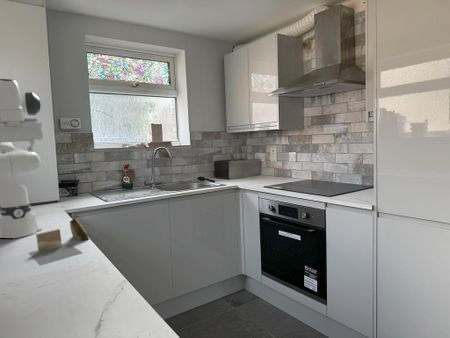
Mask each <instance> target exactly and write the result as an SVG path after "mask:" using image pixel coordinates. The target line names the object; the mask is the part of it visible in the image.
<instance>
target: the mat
mask: <svg viewBox="0 0 450 338" xmlns="http://www.w3.org/2000/svg"><path fill="white" fill-rule="evenodd" d="M82 254H83V252H82V251H81V250H79V249H77V248H76V247H75V246H73V245H71V244H70V243H69V242H65V243H62V247H59V248H55V249H51V250H47V251H43V252H40V253H39V252H38V249H37V250H34V251H33V250H32V251H30V252H28V255H29V256H31V257H32V258H33V260H35V262H36V263H37V264H38V265H39V266H43V265H48V264H51V263H53V262H56V261H60V260H63V259H68V258H70V257H74V256H78V255H82Z"/></svg>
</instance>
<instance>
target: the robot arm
mask: <svg viewBox="0 0 450 338" xmlns="http://www.w3.org/2000/svg"><path fill="white" fill-rule="evenodd" d="M41 108H42V107H41V99H40V98H39V97H38V95H37V94H35V93H34V92H32V91H29V92H21V91H20V87H19V85H18V82H17V81H16V80H14V79H11V78H0V216H1V217H0V238H13V239H19V238H23V237H26V236H30V235H33V234H36V233H37V232H39V231H42V229H43V228H42V227H40V226H39V225H38V221H37V217H36V214H35V213H34V212H33V211H32V205H31V203H30V199H29V194H28V188H27V186H25V185H23V184H22V183H19V182H16V181H12V180H11V178H10V177H14V176H22V175H23V176H24V175H28V174H32V173H36V172H38V171H39V170H40V168H41V166H42V160H41V159H42V158H41V157H40V156H39V154H38V153H37V152H34V151H33V147H34V144H35V141H41V140H43V139H44V134H43V131H42V130H43V129H42V121H41V120H40V119H38V118H25V116H36V115H38V113H39V112H40V111H41ZM28 141H29V144H30V145H29V146H28V147H27V150H24V149H21V148H17V147H15V146H14V144H13V143H12V142H14V143H15V142H28Z"/></svg>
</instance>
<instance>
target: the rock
mask: <svg viewBox="0 0 450 338" xmlns="http://www.w3.org/2000/svg"><path fill="white" fill-rule="evenodd" d="M69 226H70V227H69V228H70V231H71V234H72V237H73V238H75V239H76V240H77V242H82V241H88V240H90V238H89V236H88V233H87V230H86V229H85V227H84V226H83V225H82V223H81V221H79V220H78V218H76V217H74V218H73V219H71V220H70V221H69Z"/></svg>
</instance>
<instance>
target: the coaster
mask: <svg viewBox="0 0 450 338" xmlns="http://www.w3.org/2000/svg"><path fill="white" fill-rule="evenodd" d="M61 235H62V234H61V229H59V228H56V229H52V230H48V231H43V232H40V233H35V236H36V243H37V250H38V252H39V253H40V252H43V251H47V250H51V249H55V248H59V247H62V244H63V243H62V237H61Z"/></svg>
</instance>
